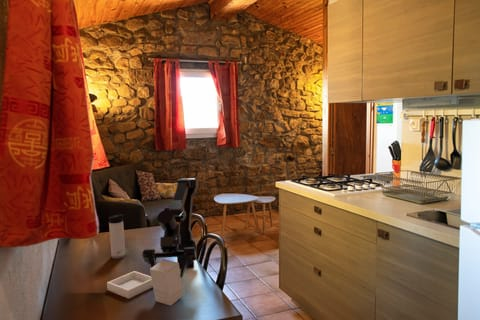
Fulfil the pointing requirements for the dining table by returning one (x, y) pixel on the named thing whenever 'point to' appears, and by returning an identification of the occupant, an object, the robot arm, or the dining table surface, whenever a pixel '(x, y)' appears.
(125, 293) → the tray
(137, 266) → the dining table surface
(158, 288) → the supplement box
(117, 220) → the travel mug
